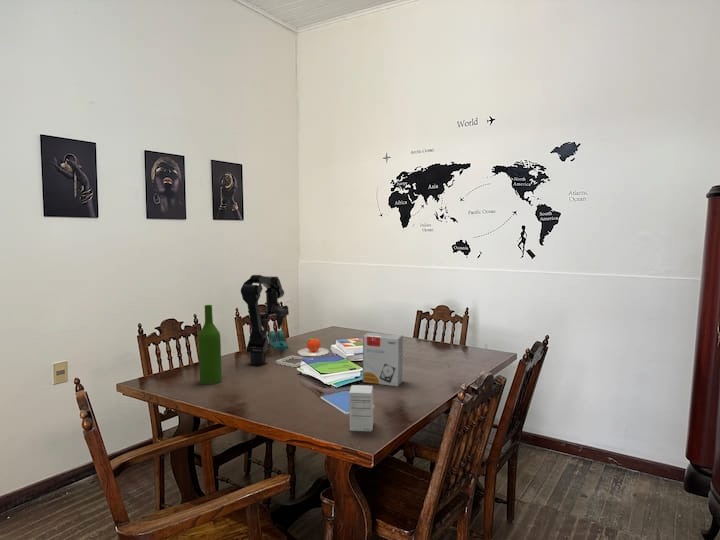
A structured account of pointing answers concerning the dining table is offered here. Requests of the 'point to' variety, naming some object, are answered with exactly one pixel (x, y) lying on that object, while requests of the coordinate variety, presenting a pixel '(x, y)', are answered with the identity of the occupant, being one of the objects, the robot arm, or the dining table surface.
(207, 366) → the wine bottle
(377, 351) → the hard drive box
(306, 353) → the cream plate
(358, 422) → the supplement box
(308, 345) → the clementine
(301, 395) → the dining table surface
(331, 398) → the tablet computer
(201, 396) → the dining table surface
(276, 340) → the bracket
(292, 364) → the white flat square frame
